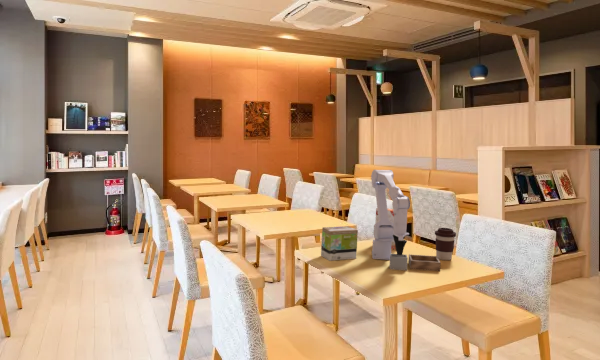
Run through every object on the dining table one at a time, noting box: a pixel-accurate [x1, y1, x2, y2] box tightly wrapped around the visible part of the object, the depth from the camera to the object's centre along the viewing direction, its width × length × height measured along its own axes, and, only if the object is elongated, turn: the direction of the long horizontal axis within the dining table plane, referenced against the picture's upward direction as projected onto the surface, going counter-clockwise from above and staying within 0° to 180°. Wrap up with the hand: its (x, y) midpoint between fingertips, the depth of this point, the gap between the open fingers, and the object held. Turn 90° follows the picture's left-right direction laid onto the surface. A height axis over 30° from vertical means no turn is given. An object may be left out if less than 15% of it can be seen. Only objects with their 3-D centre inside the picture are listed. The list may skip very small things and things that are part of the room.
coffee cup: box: [434, 227, 457, 261], centre depth 207 cm, size 10×10×15 cm
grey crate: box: [389, 253, 409, 271], centre depth 190 cm, size 8×5×6 cm, turn 81°
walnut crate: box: [407, 253, 441, 272], centre depth 193 cm, size 13×10×4 cm
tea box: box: [320, 225, 359, 262], centre depth 205 cm, size 15×10×15 cm
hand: (398, 252), depth 189 cm, fingers open, 7 cm apart
